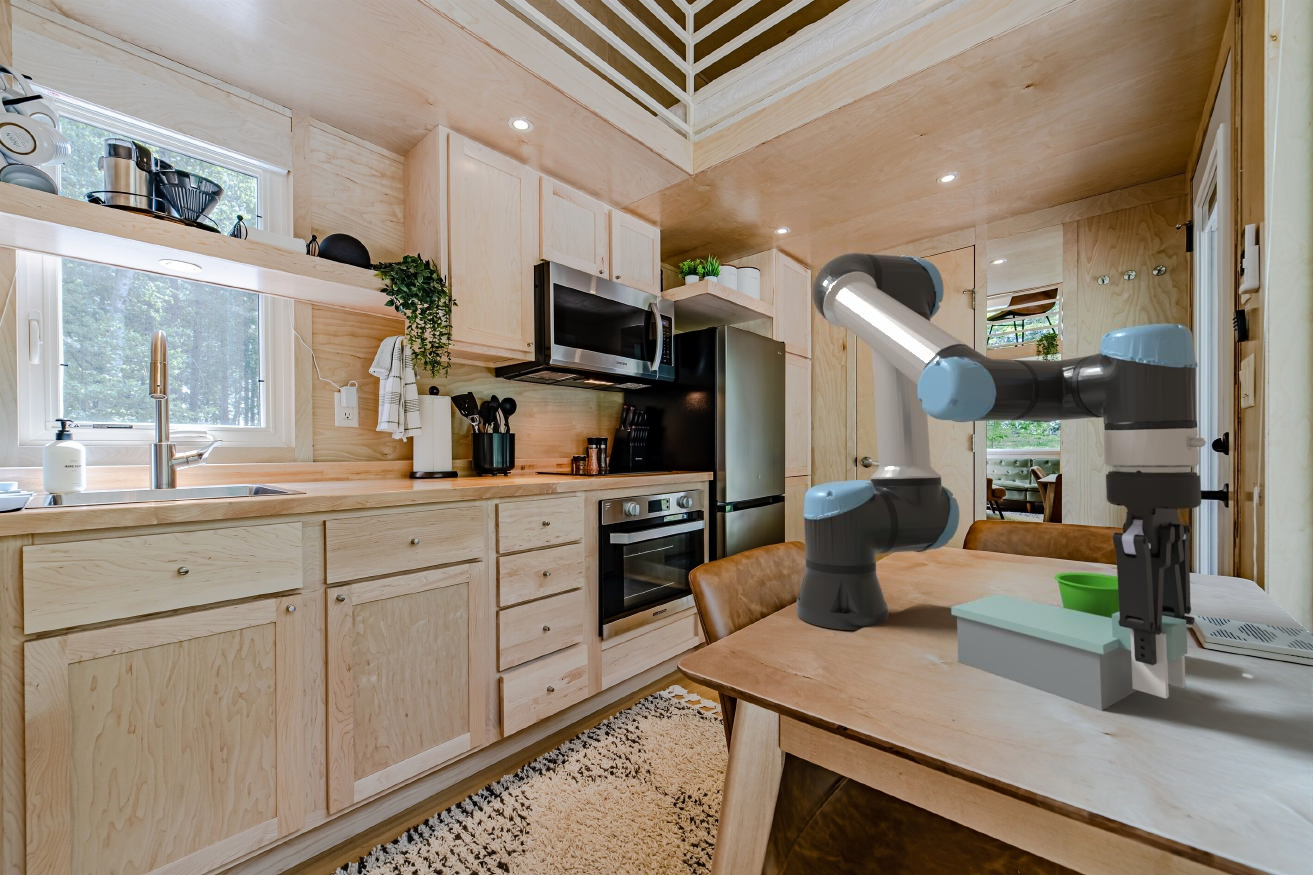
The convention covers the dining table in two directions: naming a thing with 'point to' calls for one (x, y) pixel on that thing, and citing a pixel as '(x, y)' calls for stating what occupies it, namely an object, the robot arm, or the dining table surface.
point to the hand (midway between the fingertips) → (1159, 686)
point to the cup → (1089, 593)
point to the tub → (1046, 664)
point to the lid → (1066, 624)
